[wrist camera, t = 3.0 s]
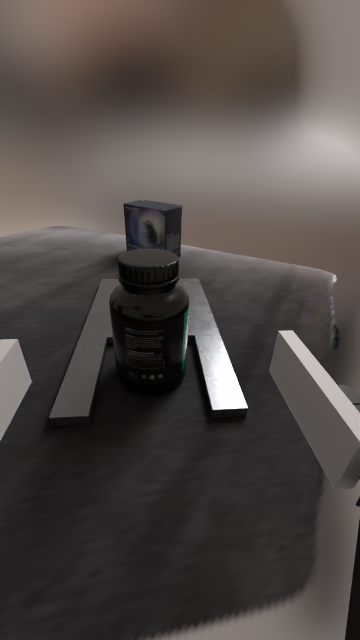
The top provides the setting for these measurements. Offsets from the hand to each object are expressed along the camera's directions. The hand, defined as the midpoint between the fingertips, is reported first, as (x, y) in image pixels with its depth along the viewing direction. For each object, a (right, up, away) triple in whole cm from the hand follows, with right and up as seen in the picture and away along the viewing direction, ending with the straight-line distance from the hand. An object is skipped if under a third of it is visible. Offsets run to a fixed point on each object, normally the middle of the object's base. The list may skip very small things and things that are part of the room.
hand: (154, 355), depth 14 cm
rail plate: (-2, +1, +20) cm, 21 cm away
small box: (-5, +16, +46) cm, 49 cm away
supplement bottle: (-2, -4, +14) cm, 14 cm away
